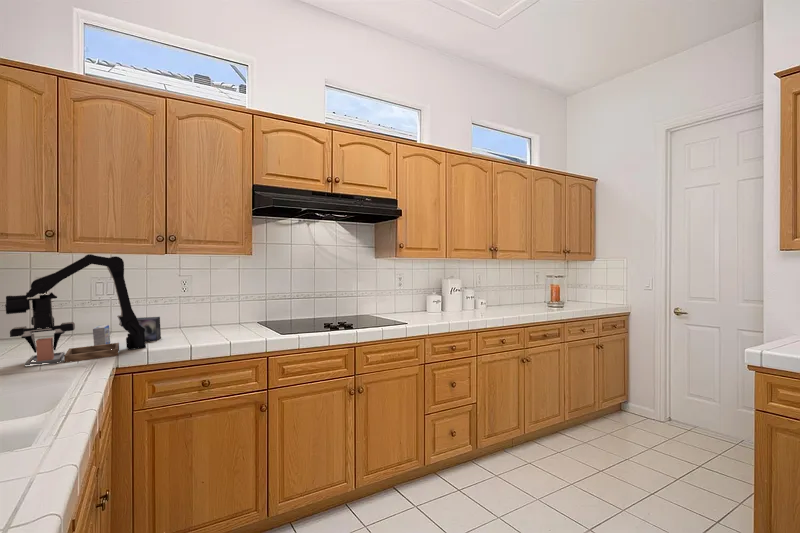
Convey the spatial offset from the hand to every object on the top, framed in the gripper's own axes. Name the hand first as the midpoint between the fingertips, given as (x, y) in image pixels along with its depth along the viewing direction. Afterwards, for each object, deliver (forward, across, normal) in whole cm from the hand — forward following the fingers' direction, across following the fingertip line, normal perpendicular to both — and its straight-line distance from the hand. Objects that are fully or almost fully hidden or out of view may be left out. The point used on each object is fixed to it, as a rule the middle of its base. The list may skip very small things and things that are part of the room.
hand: (45, 351), depth 165 cm
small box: (+4, -34, -19) cm, 39 cm away
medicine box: (+4, -17, -19) cm, 26 cm away
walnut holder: (+4, -15, 0) cm, 15 cm away
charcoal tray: (+4, 0, 0) cm, 4 cm away
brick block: (+3, 0, 0) cm, 3 cm away
